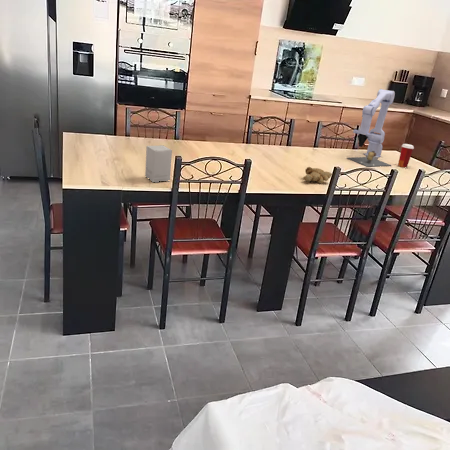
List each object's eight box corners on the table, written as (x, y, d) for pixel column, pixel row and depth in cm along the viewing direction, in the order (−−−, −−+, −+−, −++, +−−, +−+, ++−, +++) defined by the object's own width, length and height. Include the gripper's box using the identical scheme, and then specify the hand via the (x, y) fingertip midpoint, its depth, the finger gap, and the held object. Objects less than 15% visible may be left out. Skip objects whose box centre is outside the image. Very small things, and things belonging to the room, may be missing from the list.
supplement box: (170, 181, 207) (172, 150, 201) (152, 183, 202) (154, 150, 196) (162, 175, 214) (163, 144, 208) (144, 177, 209) (146, 145, 203)
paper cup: (408, 166, 293) (414, 145, 287) (408, 168, 286) (414, 147, 281) (396, 163, 295) (401, 142, 289) (396, 166, 288) (402, 145, 283)
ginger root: (326, 174, 244) (329, 161, 240) (331, 190, 232) (335, 177, 227) (297, 172, 244) (300, 159, 239) (301, 188, 231) (304, 175, 226)
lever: (369, 154, 299) (370, 147, 297) (376, 155, 298) (377, 148, 296) (365, 159, 284) (367, 152, 282) (372, 160, 282) (374, 153, 281)
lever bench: (370, 157, 302) (371, 154, 301) (391, 166, 287) (392, 162, 286) (346, 158, 293) (347, 154, 292) (367, 166, 278) (368, 162, 276)
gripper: (352, 123, 284) (347, 144, 290) (371, 128, 274) (366, 149, 279) (359, 122, 288) (354, 143, 294) (378, 127, 278) (372, 149, 284)
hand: (360, 146), depth 287 cm, fingers closed
